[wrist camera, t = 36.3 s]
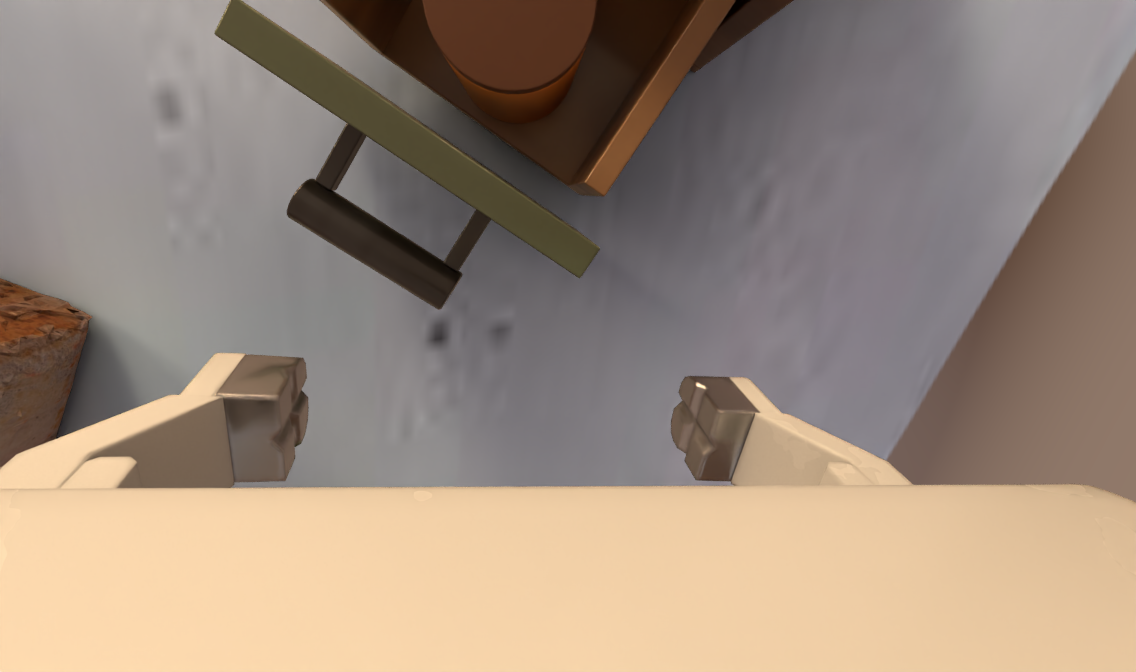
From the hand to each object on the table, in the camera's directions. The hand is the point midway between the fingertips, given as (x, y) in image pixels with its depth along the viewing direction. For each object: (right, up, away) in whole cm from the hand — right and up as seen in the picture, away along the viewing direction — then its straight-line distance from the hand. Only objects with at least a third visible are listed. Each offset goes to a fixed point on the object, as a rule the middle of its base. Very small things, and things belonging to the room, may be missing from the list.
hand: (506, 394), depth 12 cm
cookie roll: (-1, +13, +11) cm, 17 cm away
